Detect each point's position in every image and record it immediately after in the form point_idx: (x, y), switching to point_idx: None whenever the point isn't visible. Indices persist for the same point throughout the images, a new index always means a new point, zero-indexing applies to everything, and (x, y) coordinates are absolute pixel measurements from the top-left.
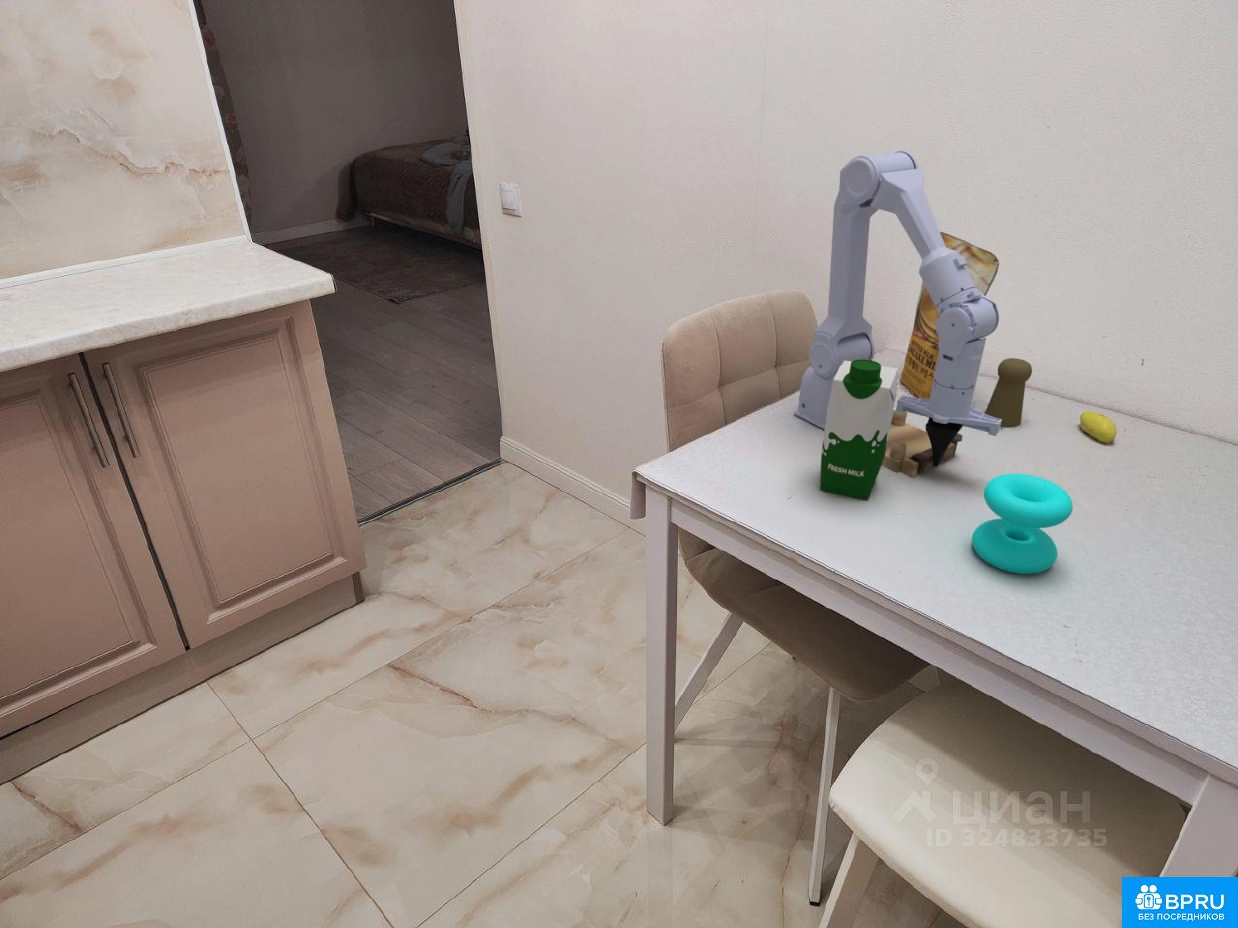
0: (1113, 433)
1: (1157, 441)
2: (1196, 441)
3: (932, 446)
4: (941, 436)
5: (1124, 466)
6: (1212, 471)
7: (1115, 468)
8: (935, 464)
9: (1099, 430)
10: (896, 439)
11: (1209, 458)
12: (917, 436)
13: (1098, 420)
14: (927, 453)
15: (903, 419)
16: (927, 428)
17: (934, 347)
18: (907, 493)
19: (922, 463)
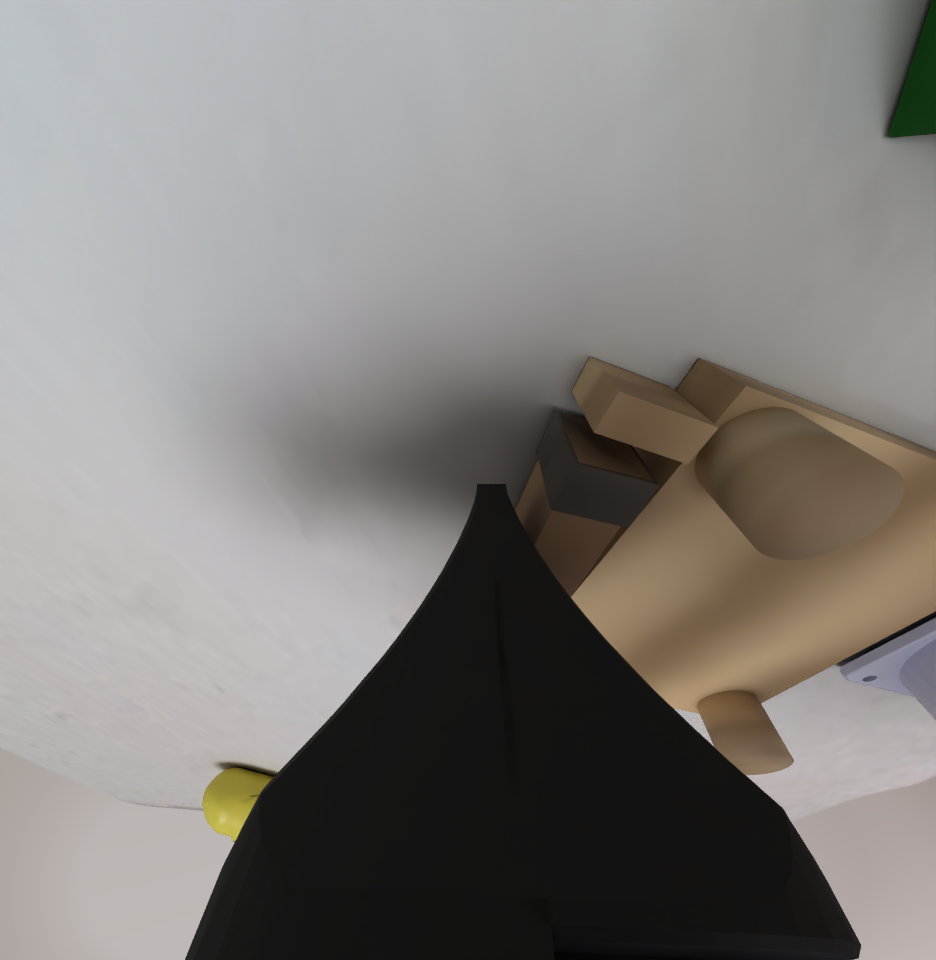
0: (202, 802)
1: (184, 786)
2: (151, 797)
3: (548, 581)
4: (474, 737)
5: (132, 726)
6: (41, 756)
7: (133, 717)
8: (489, 489)
9: (228, 802)
10: (740, 614)
11: (90, 776)
12: (637, 663)
13: (239, 828)
14: (565, 553)
15: (726, 731)
16: (802, 884)
17: None
18: (577, 29)
19: (567, 447)
